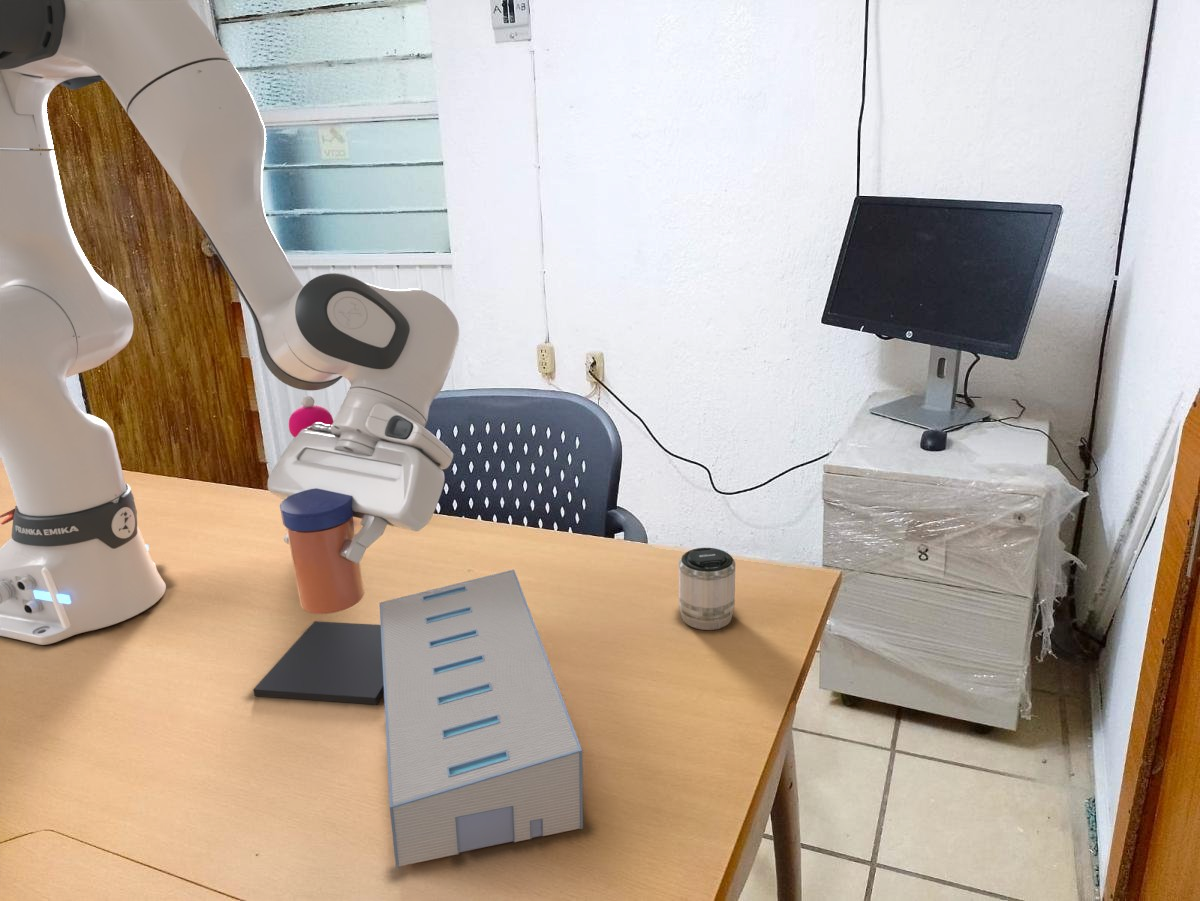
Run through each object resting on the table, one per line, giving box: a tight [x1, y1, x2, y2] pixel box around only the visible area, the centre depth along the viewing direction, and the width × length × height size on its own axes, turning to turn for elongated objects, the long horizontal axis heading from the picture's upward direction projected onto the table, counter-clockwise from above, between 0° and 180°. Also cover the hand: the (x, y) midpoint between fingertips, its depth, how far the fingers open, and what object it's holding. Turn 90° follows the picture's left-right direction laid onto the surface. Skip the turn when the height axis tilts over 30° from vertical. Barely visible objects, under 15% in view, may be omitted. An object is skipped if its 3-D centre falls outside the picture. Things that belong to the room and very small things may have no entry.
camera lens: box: [678, 547, 736, 631], centre depth 93 cm, size 6×6×8 cm
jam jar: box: [285, 516, 366, 615], centre depth 84 cm, size 6×6×11 cm
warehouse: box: [379, 569, 584, 869], centre depth 76 cm, size 30×14×8 cm, turn 15°
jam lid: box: [279, 488, 355, 531], centre depth 82 cm, size 7×7×2 cm
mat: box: [252, 620, 384, 705], centre depth 88 cm, size 13×13×1 cm
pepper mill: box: [288, 395, 334, 438], centre depth 118 cm, size 7×7×20 cm
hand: (320, 552), depth 83 cm, fingers closed on jam jar, 6 cm apart
